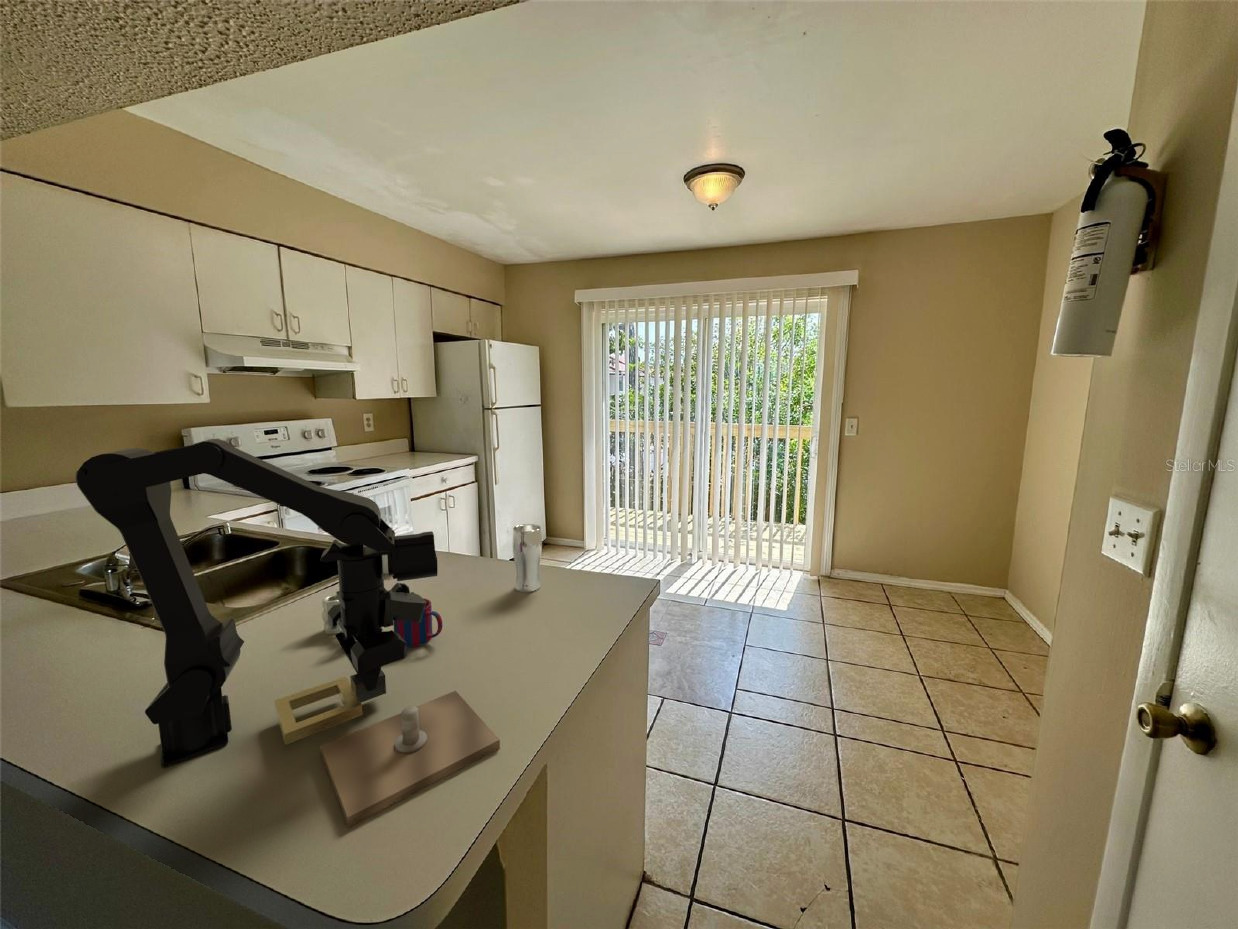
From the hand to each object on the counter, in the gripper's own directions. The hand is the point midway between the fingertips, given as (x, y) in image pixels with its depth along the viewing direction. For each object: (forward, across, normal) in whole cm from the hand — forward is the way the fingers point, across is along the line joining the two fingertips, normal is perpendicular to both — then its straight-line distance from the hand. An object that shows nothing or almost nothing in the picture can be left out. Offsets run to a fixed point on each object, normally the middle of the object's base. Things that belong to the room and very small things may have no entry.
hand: (368, 684), depth 72 cm
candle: (+3, +56, -20) cm, 60 cm away
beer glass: (+3, +23, -41) cm, 48 cm away
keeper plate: (+3, -14, -1) cm, 14 cm away
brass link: (+1, 0, +5) cm, 5 cm away
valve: (+4, +25, -2) cm, 26 cm away
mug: (+3, +14, -12) cm, 19 cm away
